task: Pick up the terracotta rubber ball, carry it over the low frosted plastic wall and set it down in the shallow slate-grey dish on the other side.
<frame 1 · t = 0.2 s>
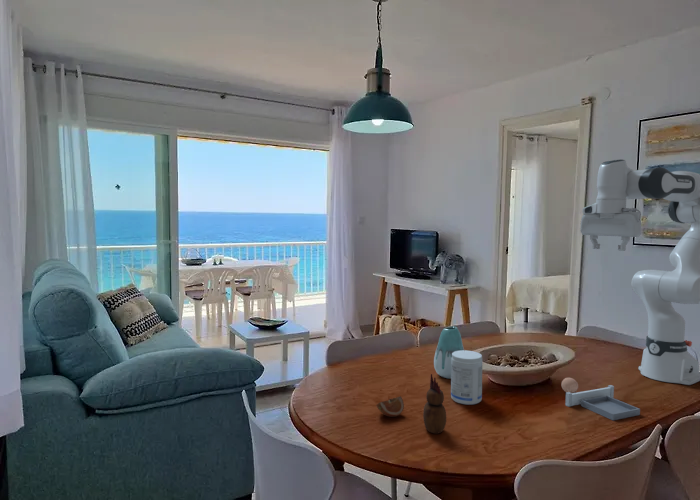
hand: (608, 249, 155), 47 cm above the table, fingers open, 8 cm apart
wall: (589, 401, 146), on the table
fruit slice: (389, 416, 134), on the table
ball: (569, 392, 153), on the table
wooden figurine: (434, 431, 125), on the table
vase: (449, 376, 169), on the table
dish: (609, 410, 139), on the table
supplement tub: (465, 400, 146), on the table
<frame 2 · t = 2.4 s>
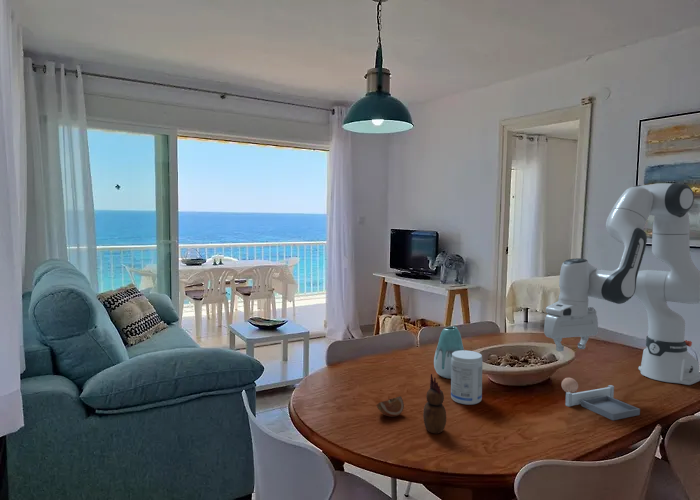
hand: (570, 349, 152), 15 cm above the table, fingers open, 8 cm apart
nothing on the table moved.
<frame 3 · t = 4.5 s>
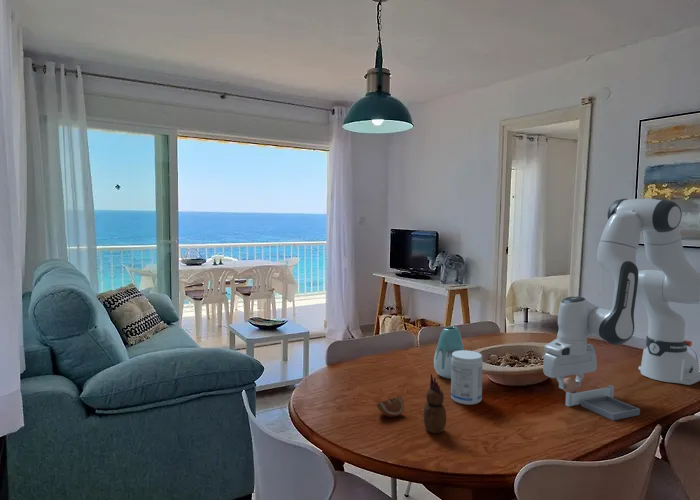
hand: (569, 387, 153), 2 cm above the table, fingers closed on ball, 5 cm apart
ball: (569, 392, 153), on the table, touching gripper
everything else where it was.
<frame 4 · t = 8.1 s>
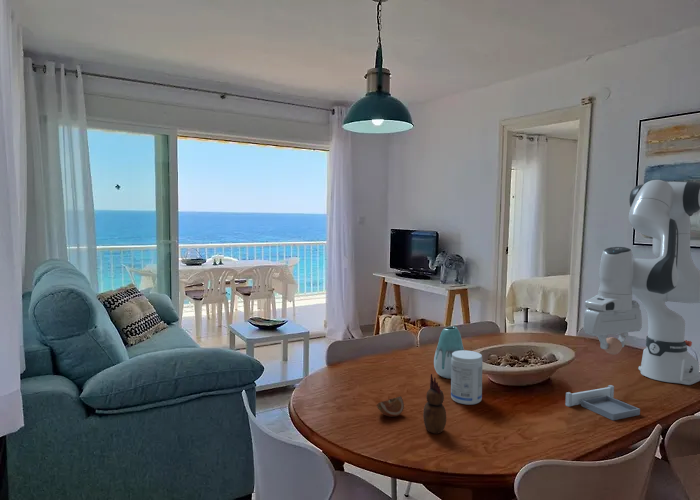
hand: (612, 347, 138), 19 cm above the table, fingers closed on ball, 5 cm apart
ball: (611, 354, 138), point 17 cm above the table, touching gripper
everything else where it was.
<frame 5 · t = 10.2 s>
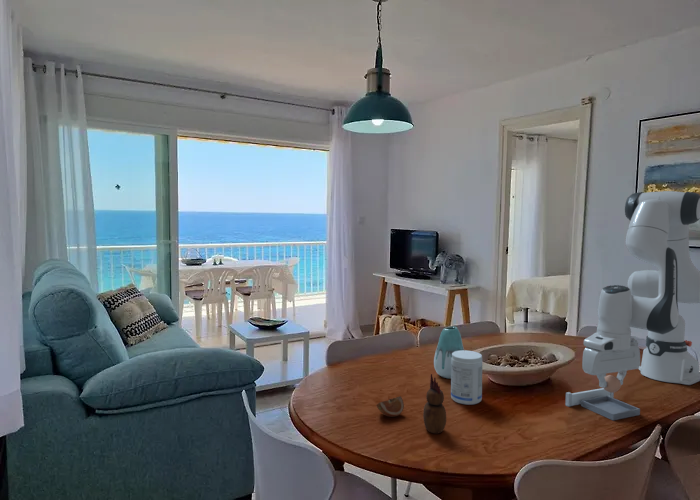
hand: (610, 385, 138), 8 cm above the table, fingers closed on ball, 5 cm apart
ball: (610, 392, 138), point 6 cm above the table, touching gripper
everything else where it was.
when the fingers open (4 cm above the table, at t = 11.9 s): ball drops 1 cm, resting on dish.
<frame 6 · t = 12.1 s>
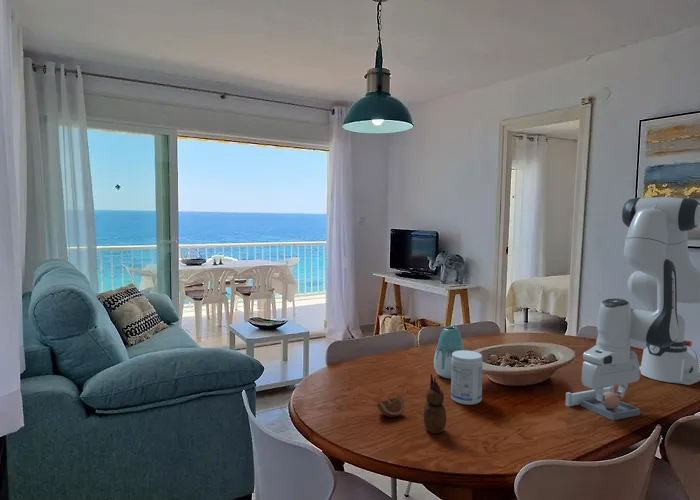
hand: (610, 398, 139), 4 cm above the table, fingers open, 7 cm apart
ball: (609, 408, 139), point 1 cm above the table, touching dish
everything else where it was.
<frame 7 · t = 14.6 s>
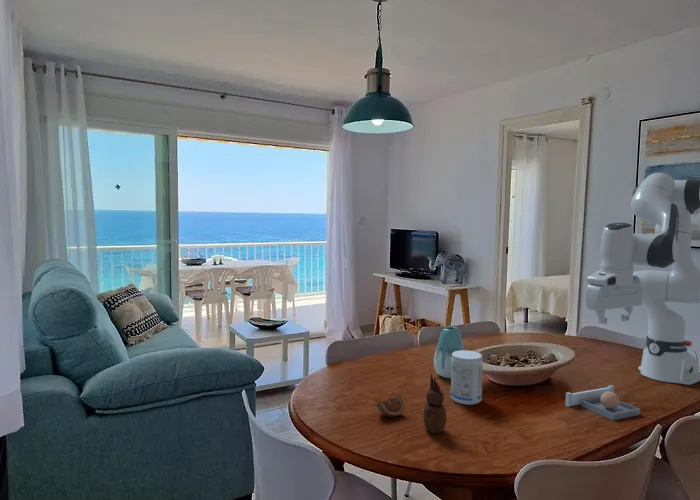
hand: (614, 322, 140), 26 cm above the table, fingers open, 8 cm apart
nothing on the table moved.
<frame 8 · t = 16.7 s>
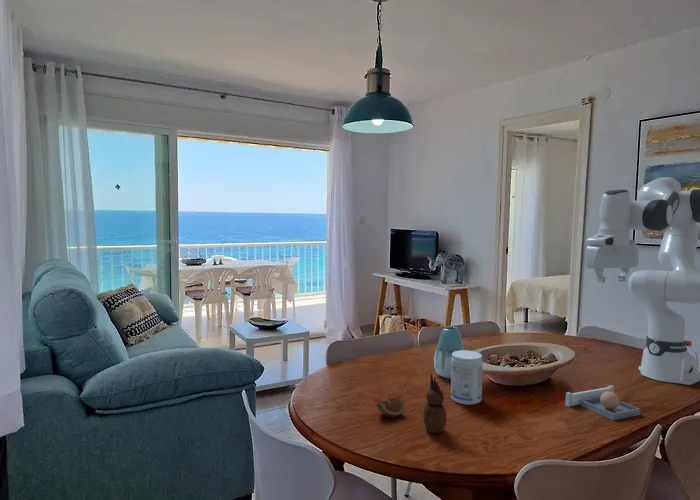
hand: (611, 281, 151), 37 cm above the table, fingers open, 8 cm apart
nothing on the table moved.
at the end: ball 0.0 cm from the dish (horizontally); ball point 0.6 cm above the table; the gripper is holding nothing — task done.
